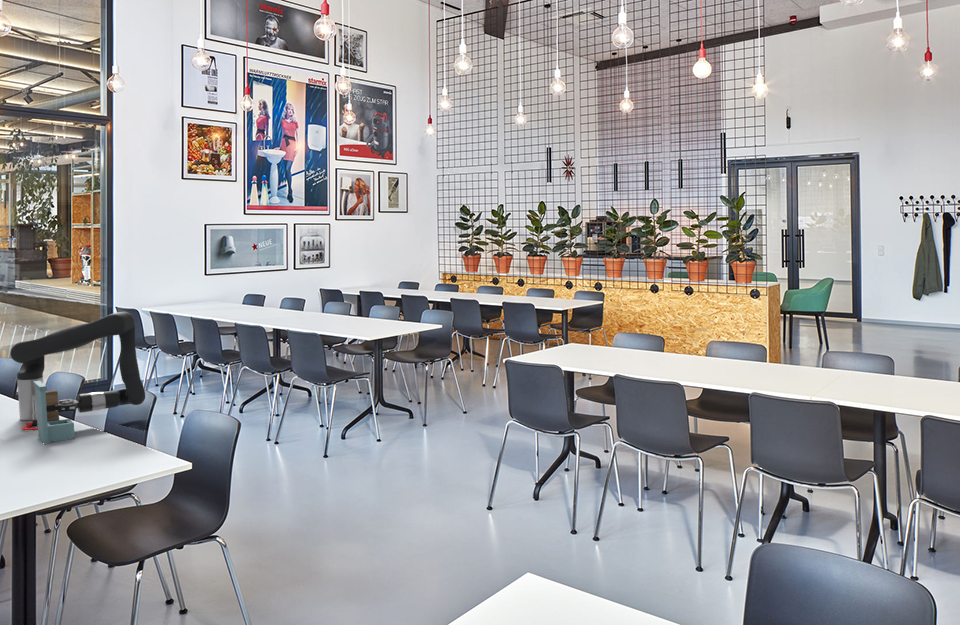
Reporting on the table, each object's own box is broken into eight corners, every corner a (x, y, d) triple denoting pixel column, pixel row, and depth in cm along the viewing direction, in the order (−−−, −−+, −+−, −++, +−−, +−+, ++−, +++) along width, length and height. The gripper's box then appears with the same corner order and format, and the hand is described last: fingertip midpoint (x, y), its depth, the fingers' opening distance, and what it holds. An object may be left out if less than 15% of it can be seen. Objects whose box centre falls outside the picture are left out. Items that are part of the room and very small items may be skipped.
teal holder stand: (36, 437, 277) (33, 381, 274) (68, 432, 284) (65, 377, 281) (43, 444, 266) (39, 386, 264) (76, 439, 273) (72, 383, 271)
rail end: (45, 431, 285) (42, 391, 284) (58, 429, 288) (55, 389, 287) (47, 432, 283) (44, 392, 281) (60, 430, 285) (57, 391, 284)
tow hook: (46, 430, 289) (47, 423, 297) (44, 398, 287) (45, 393, 295) (21, 432, 285) (23, 426, 293) (19, 401, 283) (21, 395, 291)
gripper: (86, 390, 299) (38, 396, 288) (95, 395, 288) (45, 402, 277) (88, 407, 299) (40, 414, 288) (96, 414, 289) (46, 421, 278)
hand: (43, 408), depth 283 cm, fingers closed on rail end, 3 cm apart
